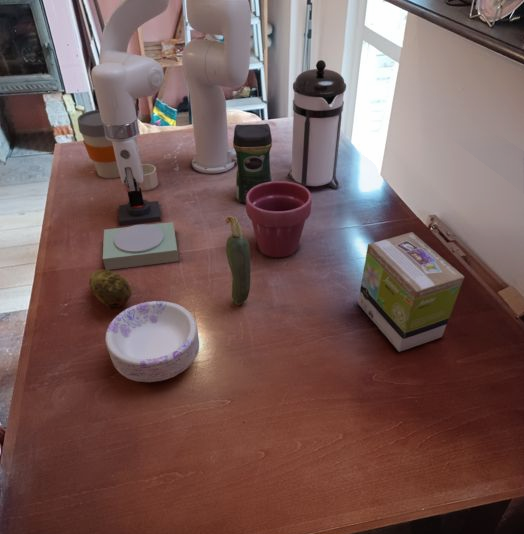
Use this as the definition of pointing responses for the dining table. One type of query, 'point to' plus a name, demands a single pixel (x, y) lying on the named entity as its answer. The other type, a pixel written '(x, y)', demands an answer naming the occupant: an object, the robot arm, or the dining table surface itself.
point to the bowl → (149, 177)
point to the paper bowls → (152, 341)
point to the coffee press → (316, 126)
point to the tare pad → (139, 213)
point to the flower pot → (278, 215)
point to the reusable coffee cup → (98, 144)
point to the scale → (139, 245)
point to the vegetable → (238, 261)
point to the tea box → (408, 290)
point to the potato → (110, 288)
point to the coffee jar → (252, 157)
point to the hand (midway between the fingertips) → (137, 204)
